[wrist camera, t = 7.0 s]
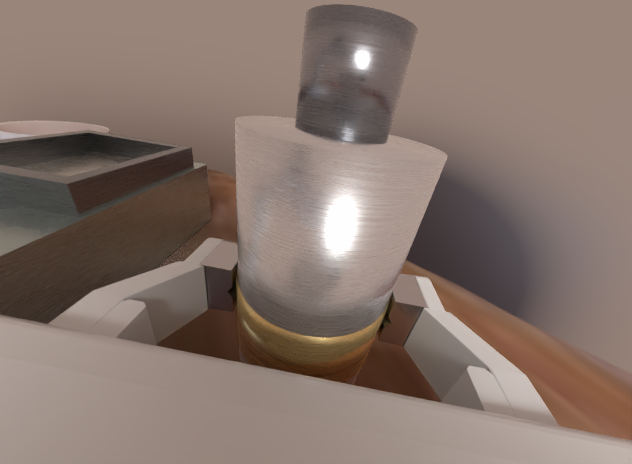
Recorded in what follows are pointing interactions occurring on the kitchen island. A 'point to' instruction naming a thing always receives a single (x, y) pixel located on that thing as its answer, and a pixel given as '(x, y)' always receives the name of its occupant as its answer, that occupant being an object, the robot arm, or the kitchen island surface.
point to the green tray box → (90, 215)
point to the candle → (44, 128)
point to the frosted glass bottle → (329, 200)
